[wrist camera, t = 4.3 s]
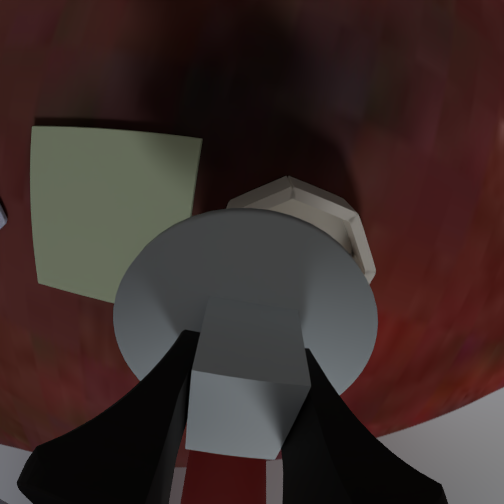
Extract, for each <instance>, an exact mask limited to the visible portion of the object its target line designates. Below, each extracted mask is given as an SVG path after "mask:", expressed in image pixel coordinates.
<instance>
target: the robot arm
mask: <svg viewBox="0 0 504 504" xmlns="http://www.w3.org/2000/svg"><path fill="white" fill-rule="evenodd" d="M6 223H7V217H6V215H5V213H4V211H3V209H2V207H1V205H0V229H1V228H2V227H3V226H4V225H5V224H6ZM199 337H200V332H196V331H191V330H186V329H185V330H183V331H182V332H181V333H180V335H179V337H178V338H177V340H176V341H175V342H174V344H173V345H172V347H171V348H170V349H169V350H168V352H167V353H166V354H165V355H164V357H163V358H162V359H161V360H160V361H159V362H158V363H157V365H156V366H155V367H154V368H153V369H152V370H151V371H150V372H149V373H148V374H147V375H146V376H145V377H144V378H143V379H142V380H141V381H140V382H139V383H138V384H137V385H136V386H135V387H134V388H133V389H132V390H131V391H129V392H128V393H127V394H126V395H125V396H124V397H122V398H121V399H120V400H119V401H117V402H116V403H115V404H113V405H112V406H111V407H109V408H108V409H106V410H105V411H104V412H102V413H101V414H99V415H98V416H96V417H95V418H93V419H92V420H90V421H88V422H86V423H85V424H83V425H81V426H79V427H78V428H76V429H74V430H72V431H70V432H68V433H66V434H64V435H62V436H60V437H58V438H55V439H53V440H51V441H48V442H46V443H44V444H41V445H39V446H37V447H36V448H35V450H34V451H33V453H32V454H31V455H30V457H29V459H28V460H27V462H26V463H25V466H24V468H23V470H22V472H21V474H20V477H19V479H18V481H17V486H18V488H19V490H20V491H21V492H22V493H23V494H24V495H25V496H26V497H27V498H28V499H29V500H30V501H31V502H32V503H33V504H169V498H170V491H171V485H172V479H173V473H174V468H175V462H176V457H177V453H178V449H179V446H180V442H181V439H182V435H183V432H184V429H185V425H186V422H187V419H188V407H189V395H190V384H191V373H192V367H193V363H194V358H195V354H196V350H197V345H198V341H199ZM305 353H306V358H307V364H308V370H309V376H310V381H311V388H310V390H309V392H308V394H307V396H306V398H305V401H304V403H303V405H302V407H301V409H300V411H299V413H298V415H297V417H296V419H295V421H294V423H293V425H292V427H291V429H290V431H289V433H288V435H287V437H286V439H285V441H284V443H283V445H282V447H281V450H282V460H283V504H448V502H447V499H446V496H445V493H444V490H443V487H442V485H441V484H440V483H437V482H436V481H434V480H433V479H431V478H429V477H427V476H426V475H424V474H422V473H420V472H419V471H417V470H416V469H414V468H413V467H411V466H410V465H408V464H407V463H405V462H404V461H403V460H401V459H400V458H399V457H397V456H396V455H395V454H394V453H392V452H391V451H390V450H389V449H388V448H386V447H385V446H384V445H383V444H382V443H381V442H380V441H378V439H376V438H375V437H374V436H373V435H372V434H371V433H370V432H369V431H368V430H367V428H366V427H365V426H364V425H363V424H362V423H361V422H360V421H359V420H358V419H357V418H356V416H355V415H354V414H353V413H352V412H351V410H350V409H349V408H348V406H347V405H346V404H345V403H344V401H343V400H342V399H341V397H340V396H339V394H338V393H337V391H336V390H335V389H334V387H333V386H332V384H331V383H330V381H329V380H328V378H327V377H326V375H325V373H324V372H323V370H322V369H321V367H320V365H319V364H318V362H317V360H316V359H315V357H314V356H313V354H312V352H311V351H310V349H309V348H305ZM0 504H8V503H6V502H4V501H3V500H1V499H0Z"/></svg>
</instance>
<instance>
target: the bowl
mask: <svg viewBox="0 0 504 504" xmlns="http://www.w3.org/2000/svg"><path fill="white" fill-rule="evenodd" d="M228 208H256V209H265V210H272V211H276V212H280V213H284V214H288V215H292V216H294V217H297V218H299V219H302V220H304V221H306V222H309V223H311V224H313V225H314V226H316V227H318V228H319V229H321V230H323V231H325V232H326V233H328V234H329V235H330V236H331V237H333V238H334V239H335V240H336V241H338V242H339V243H340V244H341V245H342V246H343V247H344V248H345V249H346V250H347V251H348V253H349V254H350V255H351V256H352V257H353V259H354V260H355V262H356V263H357V265H358V266H359V268H360V269H361V271H362V273H363V274H364V276H365V277H366V279H367V281H368V283H369V284H370V282H371V281H372V279H373V277H374V275H375V274H376V273H375V271H376V269H375V266H374V262H373V259H372V255H371V252H370V249H369V245H368V242H367V239H366V236H365V232H364V229H363V226H362V223H361V220H360V217H359V214H358V213H357V212H356V211H355V210H354V209H353V208H352V207H351V206H350V205H349V204H348V203H347V202H346V201H345V200H344V199H343V198H341V197H339V196H337V195H334V194H332V193H330V192H327V191H325V190H323V189H320V188H318V187H315V186H313V185H311V184H308V183H306V182H303V181H301V180H298V179H296V178H293V177H291V176H288V178H287V176H284V177H282V178H280V179H277V180H275V181H273V182H270V183H268V184H266V185H263V186H261V187H259V188H256V189H254V190H252V191H249V192H247V193H245V194H243V195H240V196H238V197H236V198H234V199H231V200H230V202H228V205H227V207H226V209H228Z"/></svg>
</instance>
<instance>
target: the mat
mask: <svg viewBox="0 0 504 504" xmlns="http://www.w3.org/2000/svg"><path fill="white" fill-rule="evenodd" d="M202 140H203V139H201V138H194V137H187V136H179V135H171V134H162V133H153V132H143V131H133V130H121V129H107V128H91V127H69V126H32V136H31V159H30V195H31V218H32V232H33V244H34V253H35V262H36V270H37V277H38V283H40V284H43V285H47V286H50V287H54V288H58V289H61V290H65V291H69V292H72V293H76V294H80V295H84V296H88V297H91V298H95V299H99V300H103V301H108V302H112V303H115V297H116V293H117V290H118V287H119V285H120V282H121V280H122V278H123V276H124V274H125V273H126V271H127V269H128V267H129V266H130V265H131V263H132V262H133V261H134V260H135V258H136V257H137V256H138V255H139V253H140V252H141V251H142V250H143V248H144V247H145V246H146V245H147V244H148V243H149V242H150V241H152V240H153V239H154V238H155V237H156V236H157V235H158V234H160V233H161V232H163V231H164V230H166V229H168V228H169V227H171V226H172V225H174V224H176V223H178V222H180V221H183V220H185V219H187V218H189V217H192V209H193V201H194V194H195V187H196V180H197V173H198V166H199V159H200V153H201V147H202Z"/></svg>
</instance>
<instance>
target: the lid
mask: <svg viewBox="0 0 504 504" xmlns="http://www.w3.org/2000/svg"><path fill="white" fill-rule="evenodd" d="M113 323H114V330H115V336H116V339H117V342H118V345H119V348H120V351H121V353H122V355H123V357H124V359H125V361H126V362H127V364H128V366H129V367H130V369H131V370H132V372H133V373H134V374H135V375H136V376H137V378H138V379H139V380H140V381H141V380H142V379H143V378H144V377H145V376H146V375H147V374H148V373H149V372H150V371H151V370H152V369H153V368H154V367H155V366H156V365H157V363H158V362H159V361H160V360H161V359H162V358H163V357H164V355H165V354H166V353H167V352H168V350H169V349H170V348H171V347H172V345H173V344H174V342H175V341H176V340H177V338H178V337H179V335H180V333H181V332H182V331H183V330H185V329H186V330H191V331H196V332H200V337H199V341H198V345H197V350H196V354H195V358H194V363H193V367H192V373H191V384H190V395H189V407H188V420H187V433H186V447H185V449H190V450H196V451H202V452H208V453H215V454H222V455H230V456H239V457H248V458H259V459H273V460H275V458H276V456H277V455H278V453H279V451H280V449H281V447H282V445H283V443H284V441H285V439H286V437H287V435H288V433H289V431H290V429H291V427H292V425H293V423H294V421H295V419H296V417H297V415H298V413H299V411H300V409H301V407H302V405H303V403H304V401H305V398H306V396H307V394H308V392H309V390H310V388H311V381H310V376H309V370H308V364H307V358H306V353H305V348H309V349H310V351H311V352H312V354H313V356H314V357H315V359H316V360H317V362H318V364H319V365H320V367H321V369H322V370H323V372H324V373H325V375H326V377H327V378H328V380H329V381H330V383H331V384H332V386H333V387H334V389H335V390H336V391H337V393H338V394H339V395H340V394H342V393H343V392H344V391H345V390H346V389H347V388H348V387H349V386H350V385H351V384H352V383H353V382H354V381H355V380H356V378H357V377H358V376H359V375H360V373H361V372H362V370H363V369H364V367H365V365H366V364H367V362H368V360H369V358H370V355H371V353H372V351H373V348H374V344H375V340H376V336H377V326H378V318H377V307H376V303H375V299H374V295H373V292H372V290H371V288H370V286H369V283H368V281H367V279H366V277H365V276H364V274H363V273H362V271H361V269H360V268H359V266H358V265H357V263H356V262H355V260H354V259H353V257H352V256H351V255H350V254H349V253H348V251H347V250H346V249H345V248H344V247H343V246H342V245H341V244H340V243H339V242H338V241H336V240H335V239H334V238H333V237H331V236H330V235H329V234H328V233H326V232H325V231H323V230H321V229H319V228H318V227H316V226H314V225H313V224H311V223H309V222H306V221H304V220H302V219H299V218H297V217H294V216H292V215H288V214H284V213H280V212H276V211H272V210H265V209H256V208H228V209H221V210H214V211H209V212H205V213H202V214H198V215H195V216H192V217H189V218H187V219H185V220H183V221H180V222H178V223H176V224H174V225H172V226H171V227H169V228H168V229H166V230H164V231H163V232H161V233H160V234H158V235H157V236H156V237H155V238H154V239H153V240H152V241H150V242H149V243H148V244H147V245H146V246H145V247H144V248H143V250H142V251H141V252H140V253H139V255H138V256H137V257H136V258H135V260H134V261H133V262H132V263H131V265H130V266H129V267H128V269H127V271H126V273H125V274H124V276H123V278H122V280H121V282H120V285H119V287H118V290H117V293H116V297H115V303H114V308H113Z"/></svg>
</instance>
